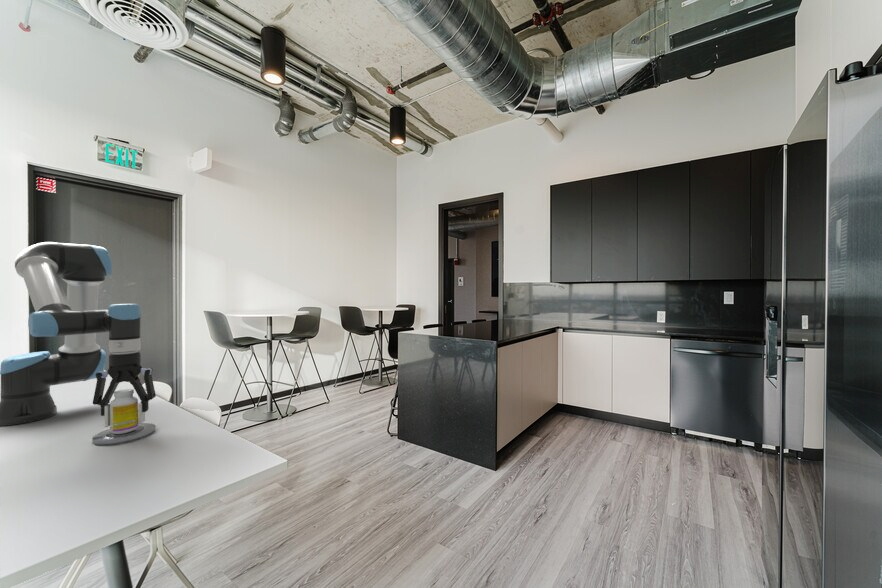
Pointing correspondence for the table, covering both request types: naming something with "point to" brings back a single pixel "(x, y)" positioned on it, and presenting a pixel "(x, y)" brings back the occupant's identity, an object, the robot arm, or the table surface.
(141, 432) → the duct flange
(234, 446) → the table surface
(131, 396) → the supplement bottle
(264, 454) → the table surface
